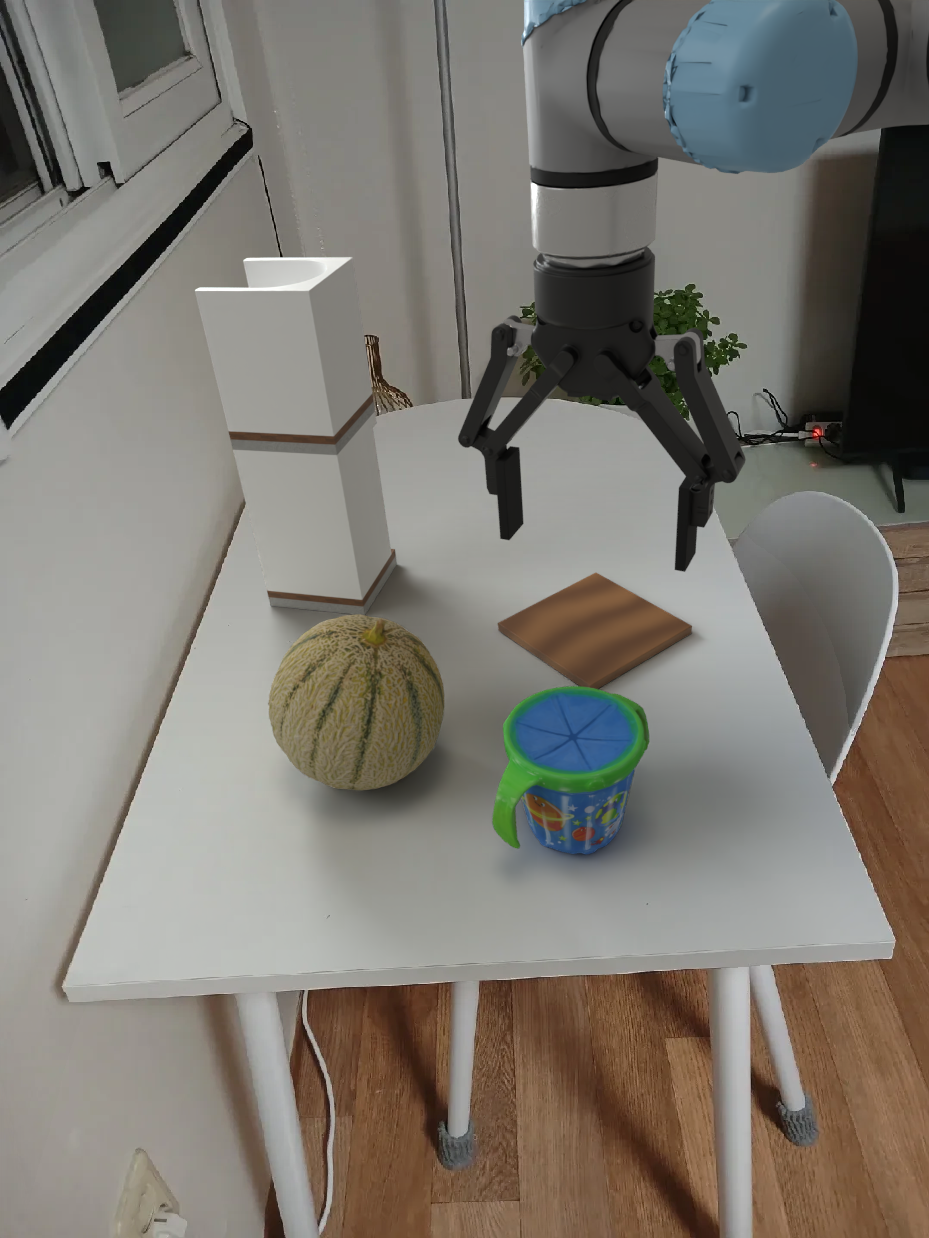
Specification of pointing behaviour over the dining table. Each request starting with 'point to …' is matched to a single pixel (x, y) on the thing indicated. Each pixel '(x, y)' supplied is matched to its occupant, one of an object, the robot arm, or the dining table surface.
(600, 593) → the wooden board
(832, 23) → the robot arm
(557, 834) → the snack cup
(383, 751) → the cantaloupe
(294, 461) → the striped white pillar
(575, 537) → the dining table surface
